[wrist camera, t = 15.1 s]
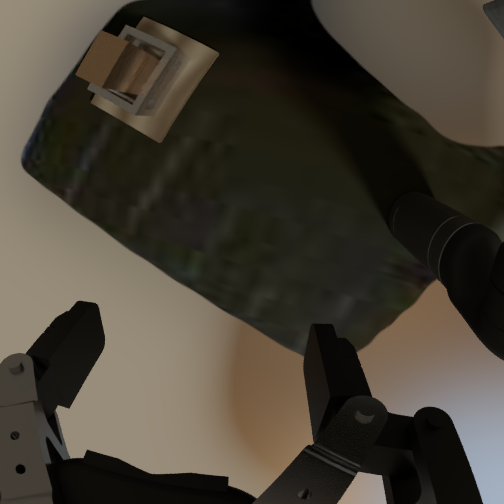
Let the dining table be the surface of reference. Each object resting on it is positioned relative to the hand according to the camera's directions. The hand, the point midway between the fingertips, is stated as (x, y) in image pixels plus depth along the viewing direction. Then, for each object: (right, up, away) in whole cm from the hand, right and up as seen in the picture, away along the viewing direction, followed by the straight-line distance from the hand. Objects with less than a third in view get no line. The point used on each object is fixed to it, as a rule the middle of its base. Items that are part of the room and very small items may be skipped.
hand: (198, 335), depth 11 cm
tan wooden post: (-13, +29, +29) cm, 43 cm away
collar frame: (-13, +29, +30) cm, 44 cm away
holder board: (-13, +29, +30) cm, 44 cm away
